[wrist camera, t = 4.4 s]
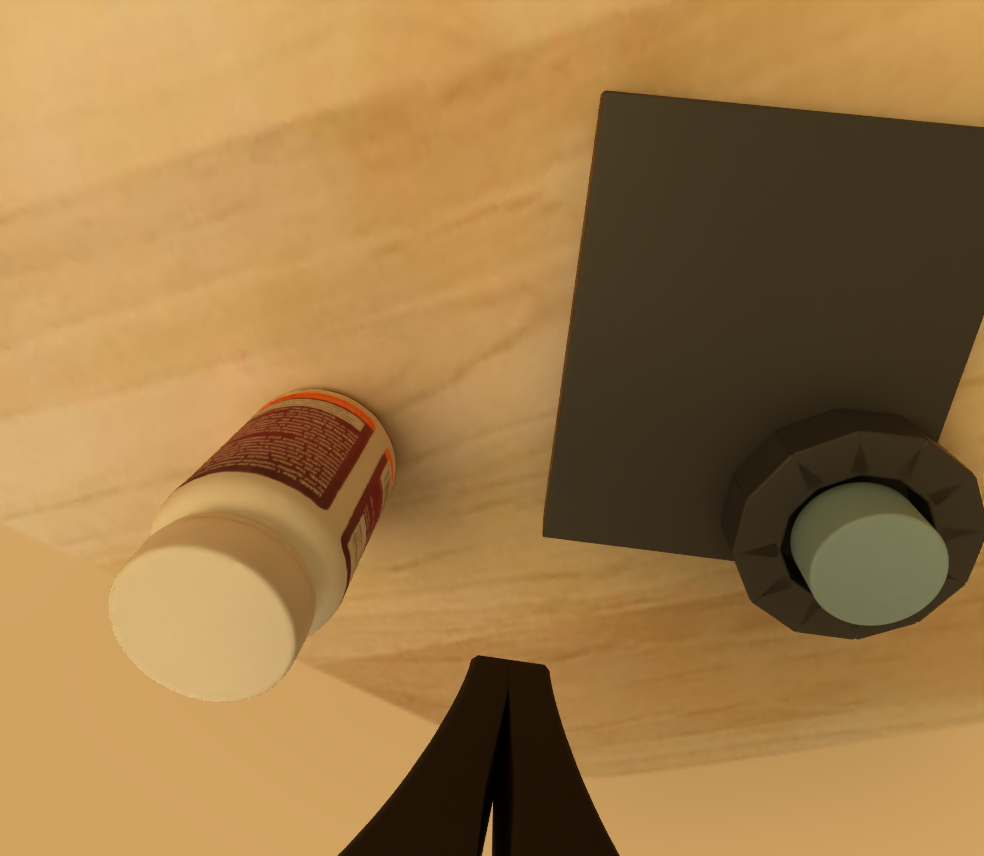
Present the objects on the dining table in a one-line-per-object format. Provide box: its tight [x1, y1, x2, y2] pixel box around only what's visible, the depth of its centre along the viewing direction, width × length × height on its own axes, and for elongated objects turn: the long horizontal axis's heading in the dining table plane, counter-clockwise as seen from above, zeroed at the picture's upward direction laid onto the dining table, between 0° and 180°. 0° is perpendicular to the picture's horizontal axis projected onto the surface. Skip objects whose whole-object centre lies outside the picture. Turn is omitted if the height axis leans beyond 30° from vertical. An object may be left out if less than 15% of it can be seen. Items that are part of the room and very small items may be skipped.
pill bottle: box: [109, 389, 396, 702], centre depth 19 cm, size 5×5×8 cm
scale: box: [543, 91, 984, 639], centre depth 19 cm, size 13×11×3 cm
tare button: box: [790, 482, 949, 626], centre depth 18 cm, size 3×3×2 cm
